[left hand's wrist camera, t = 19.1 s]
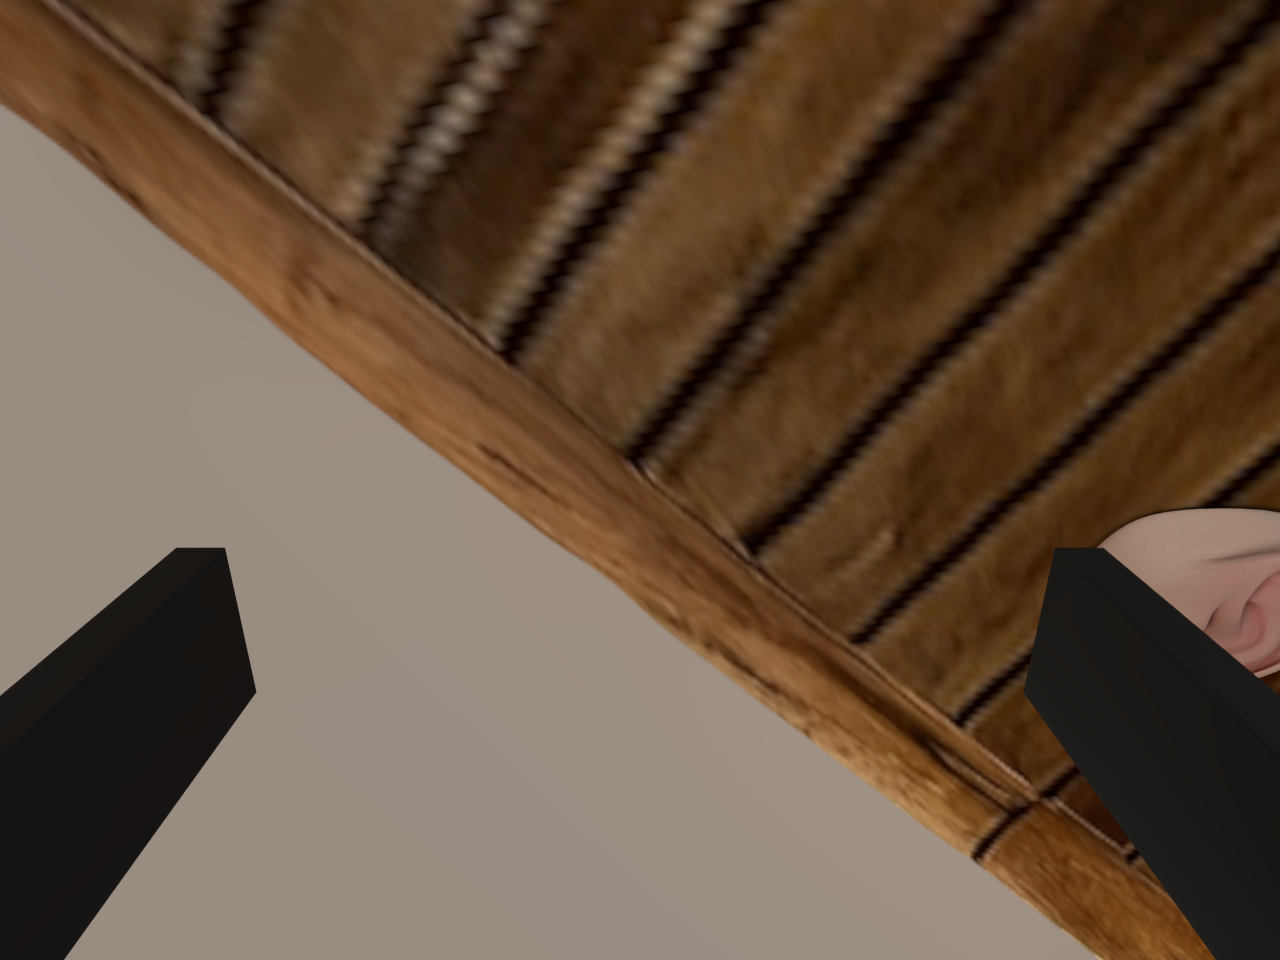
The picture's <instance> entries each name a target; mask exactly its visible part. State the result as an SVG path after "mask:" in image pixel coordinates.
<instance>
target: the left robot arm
mask: <svg viewBox="0 0 1280 960" xmlns="http://www.w3.org/2000/svg"><path fill="white" fill-rule="evenodd" d="M255 693H256V688H255V684H254V679H253V674H252V670H251V665H250V661H249V656H248V651H247V647H246V642H245V638H244V633H243V628H242V624H241V619H240V615H239V610H238V605H237V601H236V596H235V592H234V587H233V583H232V578H231V573H230V569H229V564H228V560H227V555H226V550H225V548H176V549H174V550H173V551H172V552H171V553H170V554H168V555H167V556H166V557H165V558H164V559H163V560H161V561H160V562H159V563H158V564H157V565H155V566H154V567H153V568H152V569H151V570H149V571H148V572H147V573H146V574H145V575H143V576H142V577H141V578H140V579H139V580H138V581H136V582H135V583H134V584H133V585H132V586H130V587H129V588H128V589H127V590H126V591H125V592H123V593H122V594H121V595H120V596H118V597H117V598H116V599H115V600H114V601H113V602H111V603H110V604H109V605H108V606H107V607H105V608H104V609H103V610H102V611H101V612H99V613H98V614H97V615H96V616H95V617H94V618H92V619H91V620H90V621H89V622H88V623H86V624H85V625H84V626H83V627H82V628H80V629H79V630H78V631H77V632H76V633H75V634H73V635H72V636H71V637H70V638H69V639H67V640H66V641H65V642H64V643H63V644H61V645H60V646H59V647H58V648H57V649H55V650H54V651H53V652H52V653H51V654H49V655H48V656H47V657H46V658H45V659H43V660H42V661H41V662H40V663H39V664H38V665H36V666H35V667H34V668H33V669H32V670H30V671H29V672H28V673H27V674H26V675H24V676H23V677H22V678H21V679H20V680H18V681H17V682H16V683H15V684H14V685H13V686H11V687H10V688H9V689H8V690H7V691H5V692H4V693H3V694H2V695H1V696H0V960H64V959H65V958H66V956H67V955H68V953H69V952H70V951H71V949H72V948H73V947H74V945H75V944H76V942H77V941H78V940H79V938H80V937H81V935H82V934H83V932H84V931H85V930H86V928H87V927H88V926H89V924H90V923H91V921H92V920H93V919H94V917H95V916H96V915H97V913H98V912H99V910H100V909H101V908H102V906H103V905H104V903H105V902H106V901H107V899H108V898H109V896H110V895H111V894H112V892H113V891H114V889H115V888H116V887H117V885H118V884H119V883H120V881H121V880H122V878H123V877H124V876H125V874H126V873H127V871H128V870H129V869H130V867H131V866H132V864H133V863H134V862H135V860H136V859H137V857H138V856H139V855H140V853H141V852H142V851H143V849H144V848H145V846H146V845H147V843H148V842H149V841H150V839H151V838H152V837H153V835H154V834H155V832H156V831H157V829H158V828H159V827H160V825H161V824H162V823H163V821H164V820H165V819H166V817H167V816H168V814H169V813H170V812H171V810H172V809H173V807H174V806H175V805H176V803H177V802H178V800H179V799H180V798H181V796H182V795H183V793H184V792H185V791H186V789H187V788H188V787H189V785H190V784H191V782H192V781H193V779H194V778H195V777H196V775H197V774H198V773H199V771H200V770H201V768H202V767H203V766H204V764H205V763H206V761H207V760H208V759H209V757H210V756H211V755H212V753H213V752H214V750H215V749H216V748H217V746H218V745H219V743H220V742H221V741H222V739H223V738H224V736H225V735H226V734H227V732H228V731H229V729H230V728H231V727H232V725H233V724H234V723H235V721H236V720H237V718H238V717H239V716H240V714H241V713H242V711H243V710H244V709H245V707H246V706H247V704H248V703H249V702H250V700H251V699H252V697H253V696H254V695H255ZM1024 693H1025V695H1026V696H1027V697H1028V699H1029V700H1030V702H1031V703H1032V704H1033V706H1034V707H1035V709H1036V710H1037V711H1038V713H1039V714H1040V716H1041V717H1042V718H1043V720H1044V721H1045V723H1046V724H1047V725H1048V727H1049V728H1050V729H1051V731H1052V732H1053V734H1054V735H1055V736H1056V738H1057V739H1058V741H1059V742H1060V743H1061V745H1062V746H1063V748H1064V749H1065V750H1066V752H1067V753H1068V755H1069V756H1070V757H1071V759H1072V760H1073V761H1074V763H1075V764H1076V766H1077V767H1078V768H1079V770H1080V771H1081V773H1082V774H1083V775H1084V777H1085V778H1086V780H1087V781H1088V782H1089V784H1090V785H1091V787H1092V788H1093V789H1094V791H1095V792H1096V793H1097V795H1098V796H1099V798H1100V799H1101V800H1102V802H1103V803H1104V805H1105V806H1106V807H1107V809H1108V810H1109V812H1110V813H1111V814H1112V816H1113V817H1114V819H1115V820H1116V821H1117V823H1118V824H1119V825H1120V827H1121V828H1122V830H1123V831H1124V832H1125V834H1126V835H1127V837H1128V838H1129V839H1130V841H1131V842H1132V844H1133V845H1134V846H1135V848H1136V849H1137V851H1138V852H1139V853H1140V855H1141V856H1142V857H1143V859H1144V860H1145V862H1146V863H1147V864H1148V866H1149V867H1150V869H1151V870H1152V871H1153V873H1154V874H1155V876H1156V877H1157V878H1158V880H1159V881H1160V883H1161V884H1162V885H1163V887H1164V888H1165V889H1166V891H1167V892H1168V894H1169V895H1170V896H1171V898H1172V899H1173V901H1174V902H1175V903H1176V905H1177V906H1178V908H1179V909H1180V910H1181V912H1182V913H1183V915H1184V916H1185V917H1186V919H1187V920H1188V921H1189V923H1190V924H1191V926H1192V927H1193V928H1194V930H1195V931H1196V933H1197V934H1198V935H1199V937H1200V938H1201V940H1202V941H1203V942H1204V944H1205V945H1206V947H1207V948H1208V949H1209V951H1210V952H1211V953H1212V955H1213V956H1214V958H1215V959H1216V960H1280V696H1279V695H1278V694H1277V693H1276V692H1275V691H1273V690H1272V689H1271V688H1270V687H1269V686H1267V685H1266V684H1265V683H1264V682H1263V681H1262V680H1260V679H1259V678H1258V677H1257V676H1256V675H1254V674H1253V673H1252V672H1251V671H1250V670H1248V669H1247V668H1246V667H1245V666H1244V665H1242V664H1241V663H1240V662H1239V661H1238V660H1237V659H1235V658H1234V657H1233V656H1232V655H1231V654H1229V653H1228V652H1227V651H1226V650H1225V649H1223V648H1222V647H1221V646H1220V645H1219V644H1217V643H1216V642H1215V641H1214V640H1213V639H1212V638H1210V637H1209V636H1208V635H1207V634H1206V633H1204V632H1203V631H1202V630H1201V629H1200V628H1198V627H1197V626H1196V625H1195V624H1194V623H1192V622H1191V621H1190V620H1189V619H1188V618H1187V617H1185V616H1184V615H1183V614H1182V613H1181V612H1179V611H1178V610H1177V609H1176V608H1175V607H1173V606H1172V605H1171V604H1170V603H1169V602H1167V601H1166V600H1165V599H1164V598H1163V597H1162V596H1160V595H1159V594H1158V593H1157V592H1156V591H1154V590H1153V589H1152V588H1151V587H1150V586H1148V585H1147V584H1146V583H1145V582H1144V581H1142V580H1141V579H1140V578H1139V577H1138V576H1137V575H1135V574H1134V573H1133V572H1132V571H1131V570H1129V569H1128V568H1127V567H1126V566H1125V565H1123V564H1122V563H1121V562H1120V561H1119V560H1117V559H1116V558H1115V557H1114V556H1113V555H1112V554H1110V553H1109V552H1108V551H1107V550H1106V549H1104V548H1055V550H1054V555H1053V560H1052V564H1051V569H1050V573H1049V578H1048V583H1047V587H1046V592H1045V596H1044V601H1043V605H1042V610H1041V615H1040V619H1039V624H1038V628H1037V633H1036V638H1035V642H1034V647H1033V651H1032V656H1031V660H1030V665H1029V670H1028V674H1027V679H1026V683H1025V688H1024Z"/></svg>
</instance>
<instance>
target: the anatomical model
mask: <svg viewBox="0 0 1280 960" xmlns="http://www.w3.org/2000/svg"><path fill="white" fill-rule="evenodd" d="M1097 548H1104V549H1106V550H1107V551H1108V552H1109V553H1110V554H1112V555H1113V556H1114V557H1115V558H1116V559H1117V560H1119V561H1120V562H1121V563H1122V564H1123V565H1125V566H1126V567H1127V568H1128V569H1129V570H1131V571H1132V572H1133V573H1134V574H1135V575H1137V576H1138V577H1139V578H1140V579H1141V580H1142V581H1144V582H1145V583H1146V584H1147V585H1148V586H1150V587H1151V588H1152V589H1153V590H1154V591H1156V592H1157V593H1158V594H1159V595H1160V596H1162V597H1163V598H1164V599H1165V600H1166V601H1167V602H1169V603H1170V604H1171V605H1172V606H1173V607H1175V608H1176V609H1177V610H1178V611H1179V612H1181V613H1182V614H1183V615H1184V616H1185V617H1187V618H1188V619H1189V620H1190V621H1191V622H1192V623H1194V624H1195V625H1196V626H1197V627H1198V628H1200V629H1201V630H1202V631H1203V632H1204V633H1206V634H1207V635H1208V636H1209V637H1210V638H1212V639H1213V640H1214V641H1215V642H1216V643H1217V644H1219V645H1220V646H1221V647H1222V648H1223V649H1225V650H1226V651H1227V652H1228V653H1229V654H1231V655H1232V656H1233V657H1234V658H1235V659H1237V660H1238V661H1239V662H1240V663H1241V664H1242V665H1244V666H1245V667H1246V668H1247V669H1248V670H1250V671H1251V672H1252V673H1253V674H1254V675H1256V676H1257V677H1258V678H1260V677H1263V676H1266V675H1268V674H1271V673H1273V672H1276V671H1278V670H1280V513H1278V512H1272V511H1266V510H1254V509H1232V508H1218V509H1191V510H1179V511H1171V512H1163V513H1159V514H1154V515H1150V516H1146V517H1143V518H1140V519H1138V520H1135V521H1133V522H1131V523H1129V524H1127V525H1125V526H1124V527H1122V528H1120V529H1119V530H1117V531H1116V532H1114V533H1113V534H1112V535H1111V536H1109V537H1108V538H1107V539H1106V540H1104V541H1103V542H1102V543H1101V544H1100V545H1099V546H1098V547H1097Z"/></svg>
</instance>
